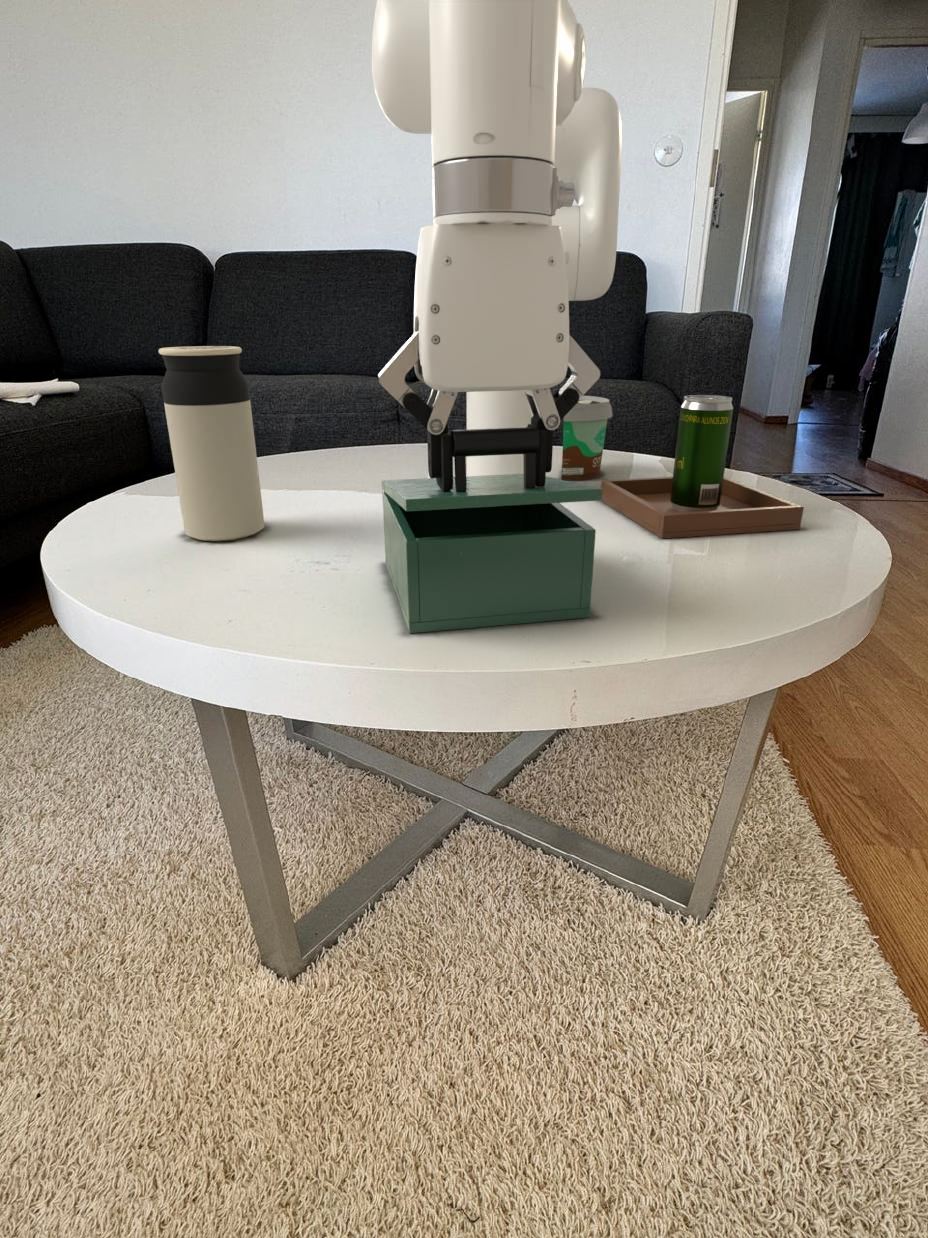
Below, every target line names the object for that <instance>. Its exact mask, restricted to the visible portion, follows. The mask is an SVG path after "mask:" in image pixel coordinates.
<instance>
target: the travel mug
mask: <svg viewBox="0 0 928 1238" xmlns="http://www.w3.org/2000/svg"><path fill="white" fill-rule="evenodd" d="M242 351H243V349H242V348H241V347H240V346H231V345H228V346H227V345H202V346H201V345H199V346H194V345H193V346H192V345H191V346H171V347H170V346H169V347H161V348H158V351H157V352H158V354H159V355H161V357H162V360H163V362H164V363H163V364H164V366H165V369H166V371H165V373H164V376H163V379H162V382H161V386H160V387H161V393H162V399H163V405H164V406H163V407H164V412H165V417H166V424H167V431H168V436H169V443H170V450H171V455H172V462H173V467H174V473H175V479H176V486H177V493H178V498H179V504H180V511H181V517H182V523H183V529H184V534H185V535H186V536H187V537H191V538H194V539H195V540H198V541H204V542H205V541H206V542H226V541H234V540H239V539H245V538H248V537H252V536H254V535H256V534H258V533H259V532H260V531H261V530H263V529H264V528H265V517H264V509H263V501H262V491H261V483H260V481H261V480H260V475H259V474H260V473H259V465H258V457H257V456H258V455H257V447H256V439H255V432H254V431H255V430H254V429H255V428H254V422H253V412H252V405H251V396H250V395H251V394H250V387H249V382H248V380H247V379H246V377H245V376H244V374H243V372H242V371H241V369H240V356H241V353H242Z"/></svg>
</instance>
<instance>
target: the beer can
mask: <svg viewBox="0 0 928 1238" xmlns="http://www.w3.org/2000/svg"><path fill="white" fill-rule="evenodd" d="M732 402H733V397H731V396H725V395H717V394H716V395H714V394H713V395H712V394H690V395H684V396H683V402H682V404H681V405H680V409H679V416H678V417H679V419H678V425H677V426H678V428H677V437H676V445H675V455H674V461H673V462H674V463H673V472H672V477H673V479H672V488H671V497H670V502H671V505H672V508H673V509H674V510H677V511H680V512H697V511H714V510H717V508H718V507H719V505H720V499H721V492H722V485H723V478H724V476H725V470H726V464H727V463H726V462H727V455H728V449H729V441H730V435H731V426H732V422H733V421H732V420H733V412H734V406H733V403H732Z"/></svg>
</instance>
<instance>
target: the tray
mask: <svg viewBox="0 0 928 1238" xmlns="http://www.w3.org/2000/svg"><path fill="white" fill-rule="evenodd" d="M672 479H673V476H660V477H659V476H658V477H642V478H640V477H639V478H623V479H622V478H621V479H620V478H619V479H604V480H601V481H600V489H602V500H600V501H601V502H602V503H604V504H605V505H607V506H609V507H610V508H612V509H614V510H615V511H616V512H618V513H620V514H622V515H623V516H625V517H627V518H628V519H629V520H632V521H633V522H634V523H636V524H638V525H639V526H641V527H643V528H644V529H646V530H648V531H649V532H651V533H652V534H654V535H656V536H657V537H658V538H660V539H662V540H663V539H677V538H691V537H705V536H721V535H734V534H750V533H751V534H752V533H763V532H764V533H765V532H778V531H779V532H780V531H793V530H794V531H795V530H800V529H801V525H802V518H803V514H804V509H805V507H804V506H803V505H799V504H797V503H795V502H793V501H789V500H787V499H784V498H781V497H779V496H776V495H774V494H771V493H769V492H766V491H763V490H761V489H758V488H755V487H753V486H750V485H748V484H746V483H743V482H740V481H738V480H736V479H732V478H730V477H727V476H725V475H724V478H723V485H722V492H721V499H720V505H719V507H718V508H717V510H714V511H697V512H680V511H677V510H674V509H673V508H672V505H671V502H670V497H671V488H672Z"/></svg>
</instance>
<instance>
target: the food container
mask: <svg viewBox="0 0 928 1238" xmlns="http://www.w3.org/2000/svg"><path fill="white" fill-rule="evenodd" d="M612 409H613V408H612V405H611V404H610V399H609V398H606V397H600V396H593V395H582V396H581V397H580V398H579V401H578V402H577V404H576V405H575V406H574V407H573V408H572V409H571V410H570V411H569V412H568V413H567V414H566V415H565V417H564V418H563V434H562V453H561V454H562V455H561V456H562V457H561V477H560V478H561V479H560V480H564V481H582V480H591V479H594V478H597V477H599V476H600V473H601V467H602V460H603V453H604V445H605V440H606V432H607V425H608V419H612V418H613V410H612Z"/></svg>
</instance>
